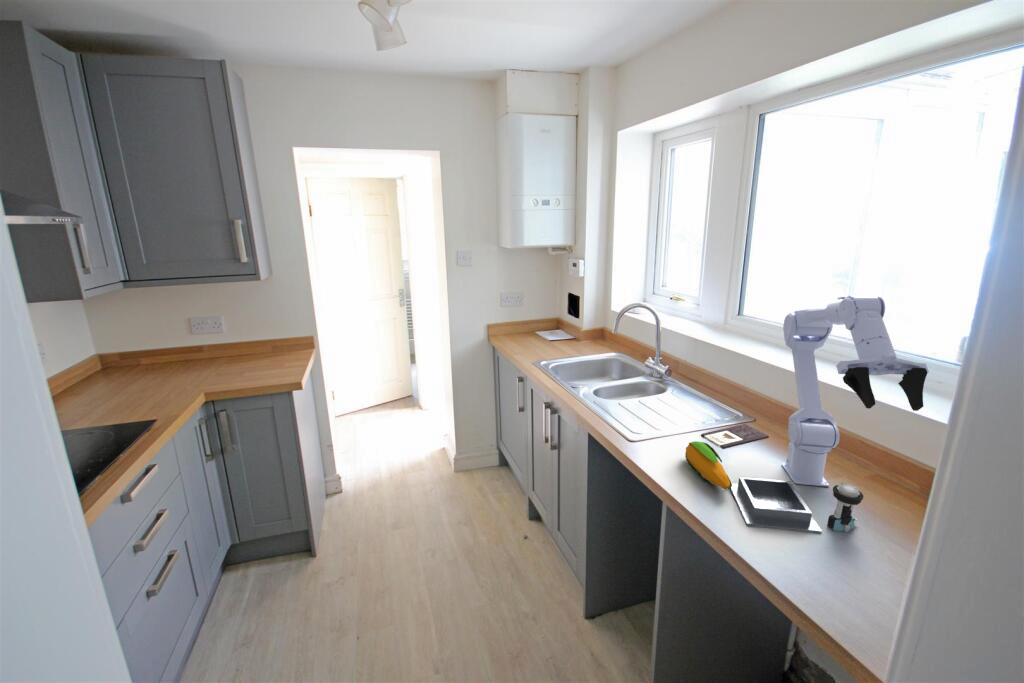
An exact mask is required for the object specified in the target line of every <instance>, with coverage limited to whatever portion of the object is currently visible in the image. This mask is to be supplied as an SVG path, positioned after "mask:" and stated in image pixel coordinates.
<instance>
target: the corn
mask: <svg viewBox="0 0 1024 683" xmlns="http://www.w3.org/2000/svg"><path fill="white" fill-rule="evenodd" d="M684 455H685V456H684V457H685V459H686V461H687V463H688V464H689V465H690V467H691V468H692V469H693V471H694V472H695V473H696V474H697V475H698V476H699V477H700V478H701V479H702V480H703V481H704V482H705V483H708V482H710V483H711V484H712V485H714V486H716V487H719V488H721V489H722V490H728V489H730V488H731V487H732V483H733V482H732V481H731V479H730V478H729V476H728V474H727V472H726V471H725V469H724V466H723V465H722V463H723V461H722V458H721V457H720V455H719V453H718V452H717V451H716V450H715V449H714V448H713V447H712V446H711V445H710V444H708V443H707V442H704V441H703V442H702V441H691V442H688V444H687V446H686V448H685V454H684Z"/></svg>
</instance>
